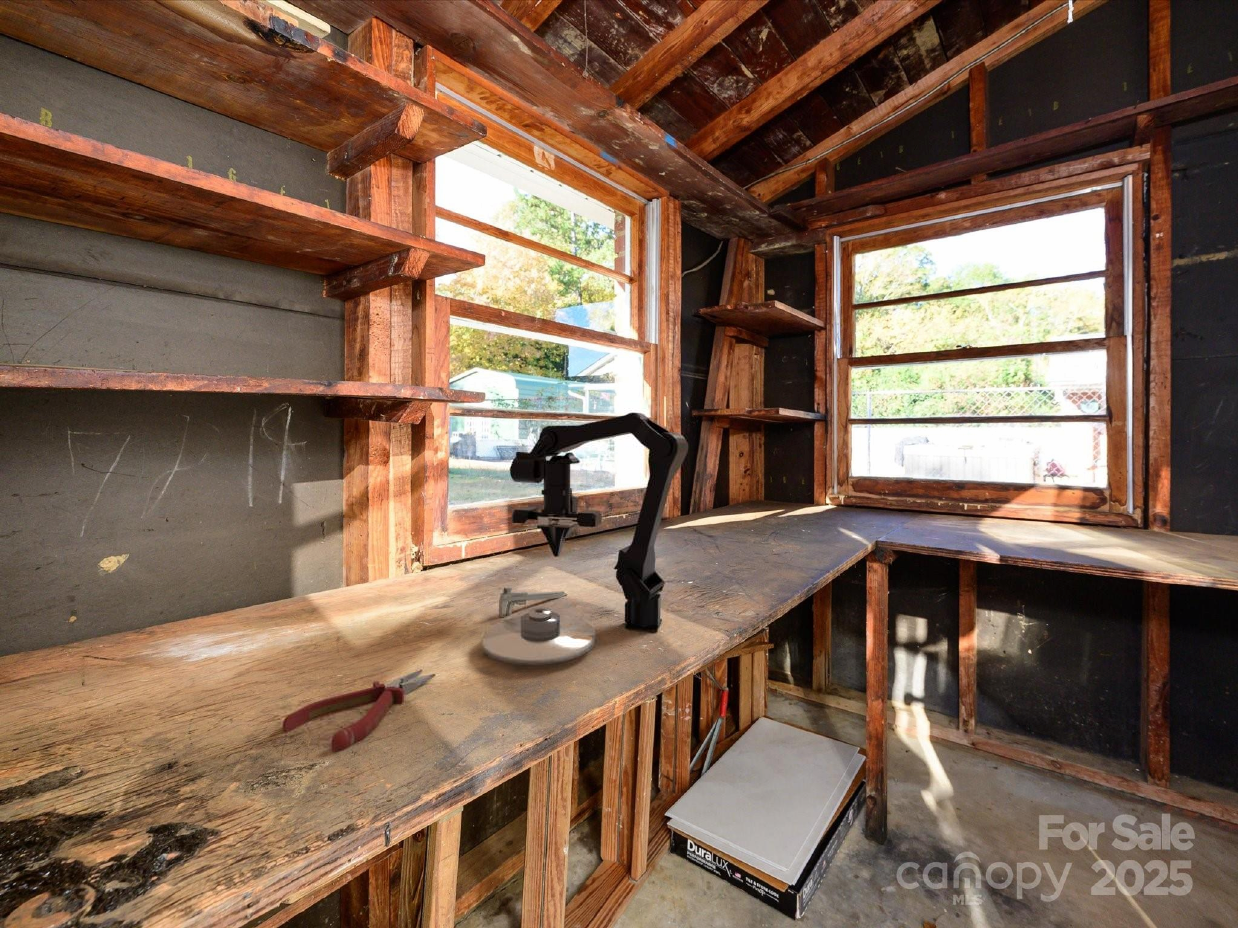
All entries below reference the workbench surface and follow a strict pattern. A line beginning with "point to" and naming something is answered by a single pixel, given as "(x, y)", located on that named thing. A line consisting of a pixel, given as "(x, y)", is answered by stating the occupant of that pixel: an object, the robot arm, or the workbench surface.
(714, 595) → the workbench surface
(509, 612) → the caliper
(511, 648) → the turntable
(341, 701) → the pliers
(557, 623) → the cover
